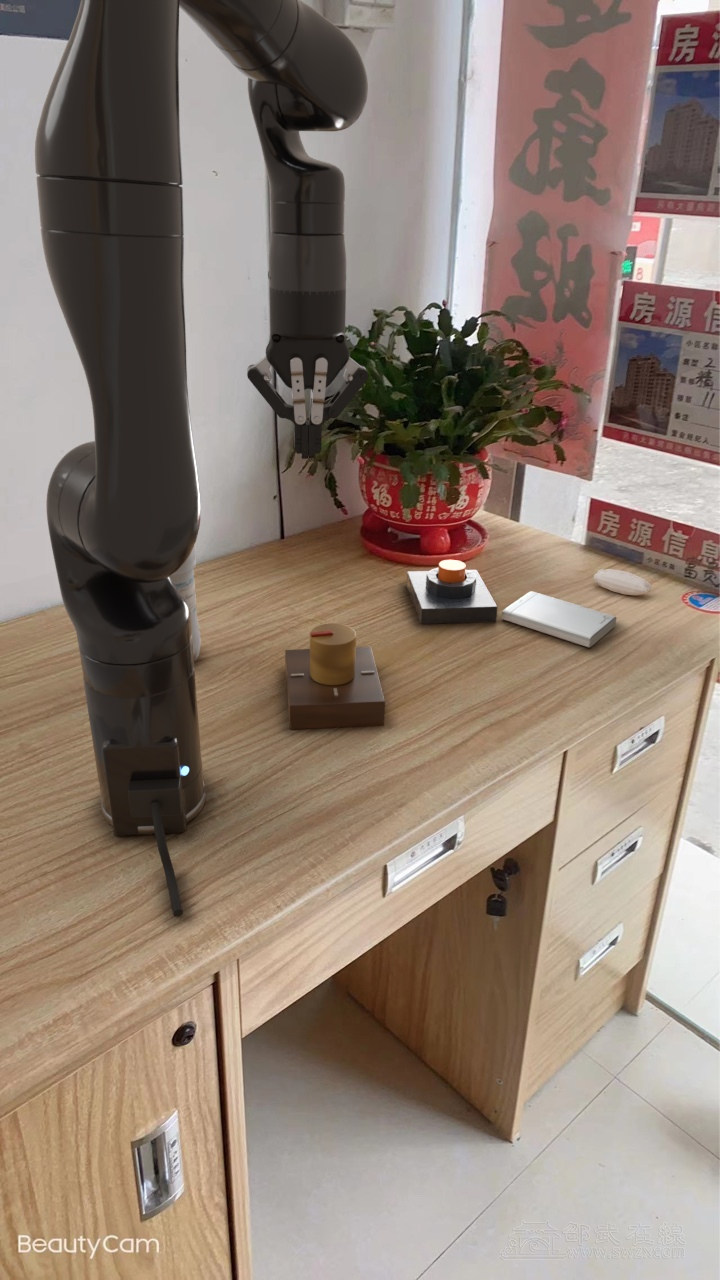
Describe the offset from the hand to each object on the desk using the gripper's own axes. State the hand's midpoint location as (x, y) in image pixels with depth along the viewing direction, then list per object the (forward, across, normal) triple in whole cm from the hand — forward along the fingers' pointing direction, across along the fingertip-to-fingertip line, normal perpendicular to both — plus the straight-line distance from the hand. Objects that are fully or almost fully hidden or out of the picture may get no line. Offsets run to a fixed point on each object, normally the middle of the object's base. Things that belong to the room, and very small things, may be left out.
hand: (308, 456), depth 94 cm
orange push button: (+21, +20, +14) cm, 32 cm away
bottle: (+25, -16, +1) cm, 30 cm away
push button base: (+25, +20, +14) cm, 35 cm away
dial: (+22, +2, -9) cm, 24 cm away
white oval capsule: (+25, +45, +16) cm, 54 cm away
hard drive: (+25, +33, +7) cm, 42 cm away
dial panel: (+25, +2, -9) cm, 26 cm away
